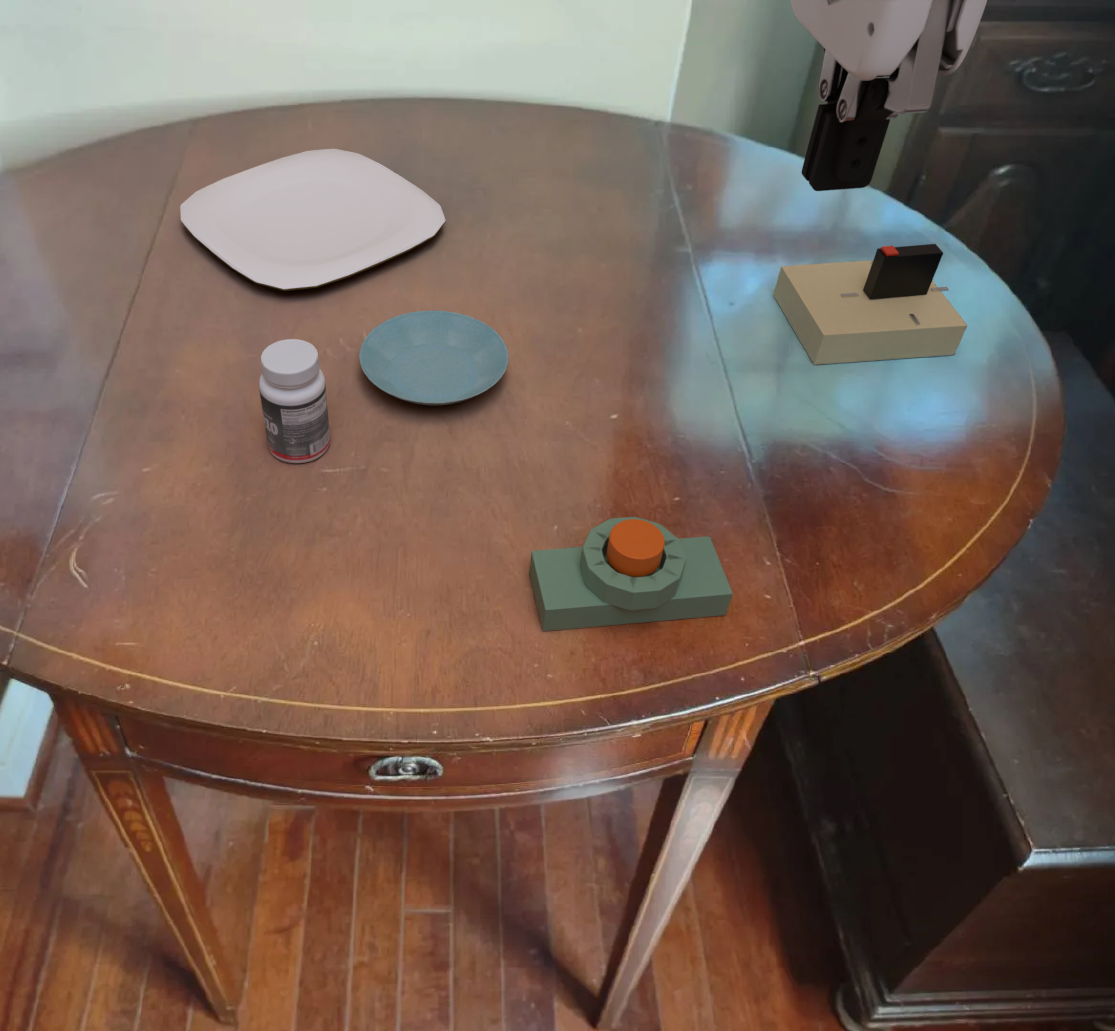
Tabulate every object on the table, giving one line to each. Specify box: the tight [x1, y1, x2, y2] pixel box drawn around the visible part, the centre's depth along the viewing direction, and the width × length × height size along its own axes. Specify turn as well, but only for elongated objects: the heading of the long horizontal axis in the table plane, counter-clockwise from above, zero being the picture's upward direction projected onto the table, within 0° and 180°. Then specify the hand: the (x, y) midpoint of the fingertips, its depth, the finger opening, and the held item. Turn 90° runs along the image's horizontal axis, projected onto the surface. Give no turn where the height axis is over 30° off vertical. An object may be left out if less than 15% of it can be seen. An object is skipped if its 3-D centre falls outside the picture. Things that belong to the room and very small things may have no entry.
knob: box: [863, 243, 944, 299], centre depth 86 cm, size 5×1×4 cm, turn 98°
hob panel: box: [772, 259, 968, 366], centre depth 88 cm, size 13×10×3 cm
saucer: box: [358, 310, 510, 406], centre depth 84 cm, size 12×12×2 cm
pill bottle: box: [258, 338, 331, 464], centre depth 76 cm, size 5×5×8 cm
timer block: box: [528, 516, 734, 632], centre depth 67 cm, size 12×6×4 cm, turn 96°
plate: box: [179, 148, 447, 292], centre depth 100 cm, size 22×22×2 cm
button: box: [606, 519, 665, 577], centre depth 66 cm, size 3×3×2 cm
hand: (834, 181), depth 56 cm, fingers closed
